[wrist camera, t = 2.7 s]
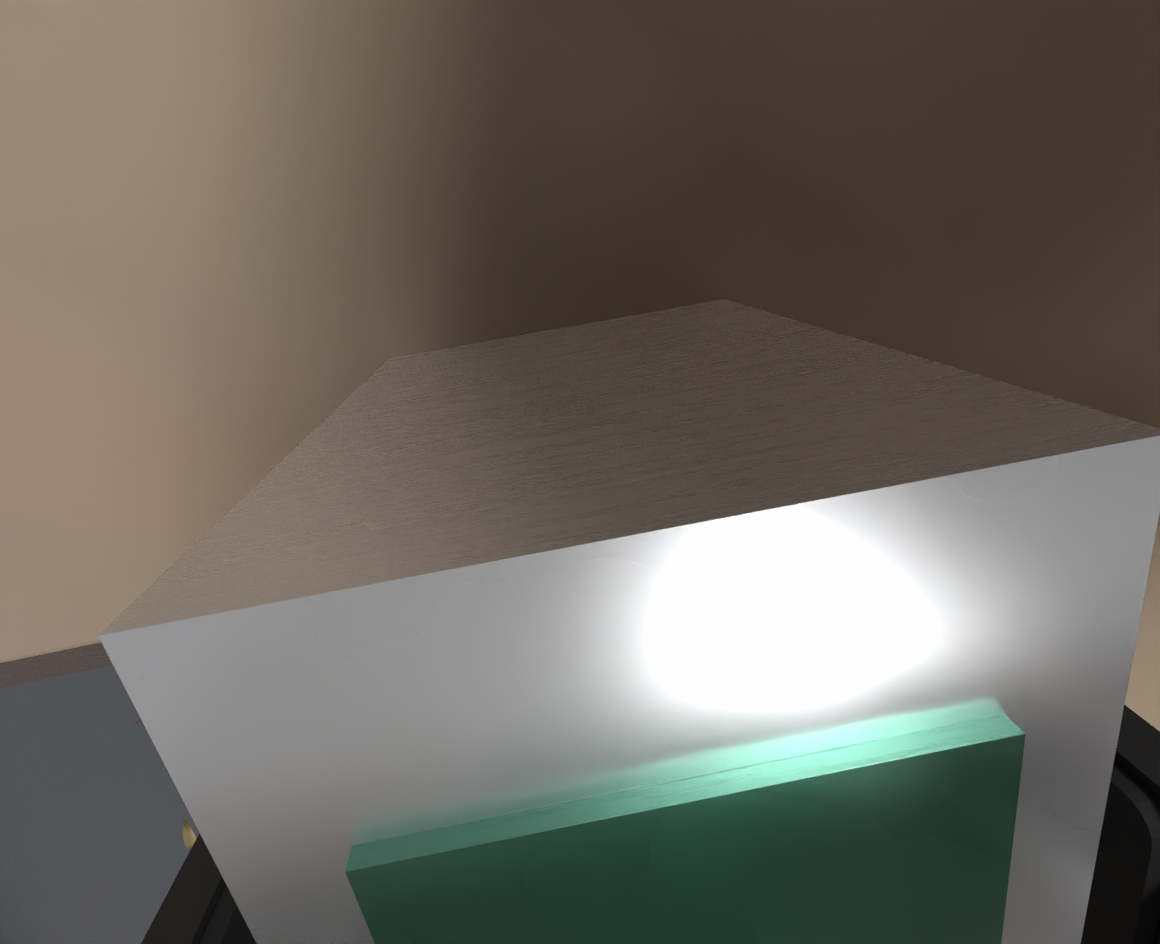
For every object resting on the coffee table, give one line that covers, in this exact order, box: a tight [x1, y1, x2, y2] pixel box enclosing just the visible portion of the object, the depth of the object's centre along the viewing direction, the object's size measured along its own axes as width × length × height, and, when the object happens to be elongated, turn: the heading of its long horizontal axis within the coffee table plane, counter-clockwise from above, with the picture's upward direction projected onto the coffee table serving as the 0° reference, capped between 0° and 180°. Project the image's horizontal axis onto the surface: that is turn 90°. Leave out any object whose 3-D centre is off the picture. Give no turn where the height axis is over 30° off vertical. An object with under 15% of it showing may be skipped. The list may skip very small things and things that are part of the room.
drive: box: [98, 299, 1160, 944], centre depth 8 cm, size 5×11×7 cm, turn 9°
